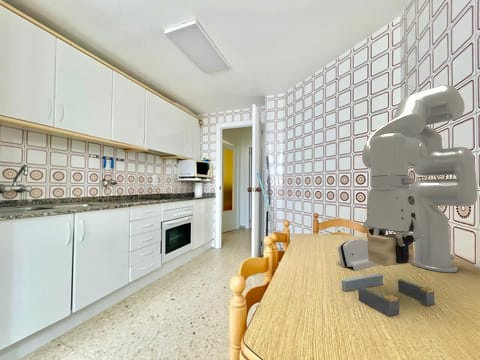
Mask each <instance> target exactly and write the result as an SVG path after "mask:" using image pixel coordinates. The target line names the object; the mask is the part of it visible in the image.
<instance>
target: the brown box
mask: <svg viewBox="0 0 480 360" xmlns="http://www.w3.org/2000/svg"><path fill="white" fill-rule="evenodd" d="M367 241H368V261H370V262H373V263H376V264H379V265H378V266H382V267H391V266H398V265H400V264H399V263H397V262H396V245H398V241H397V237H396V233H388V234H386V235H371V234H370V235H367ZM414 258H415V255H414V242H413V243H412V244H411V245H410V246H409V260H408V263H403V264H402V265H406V264H411V263H414Z"/></svg>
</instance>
